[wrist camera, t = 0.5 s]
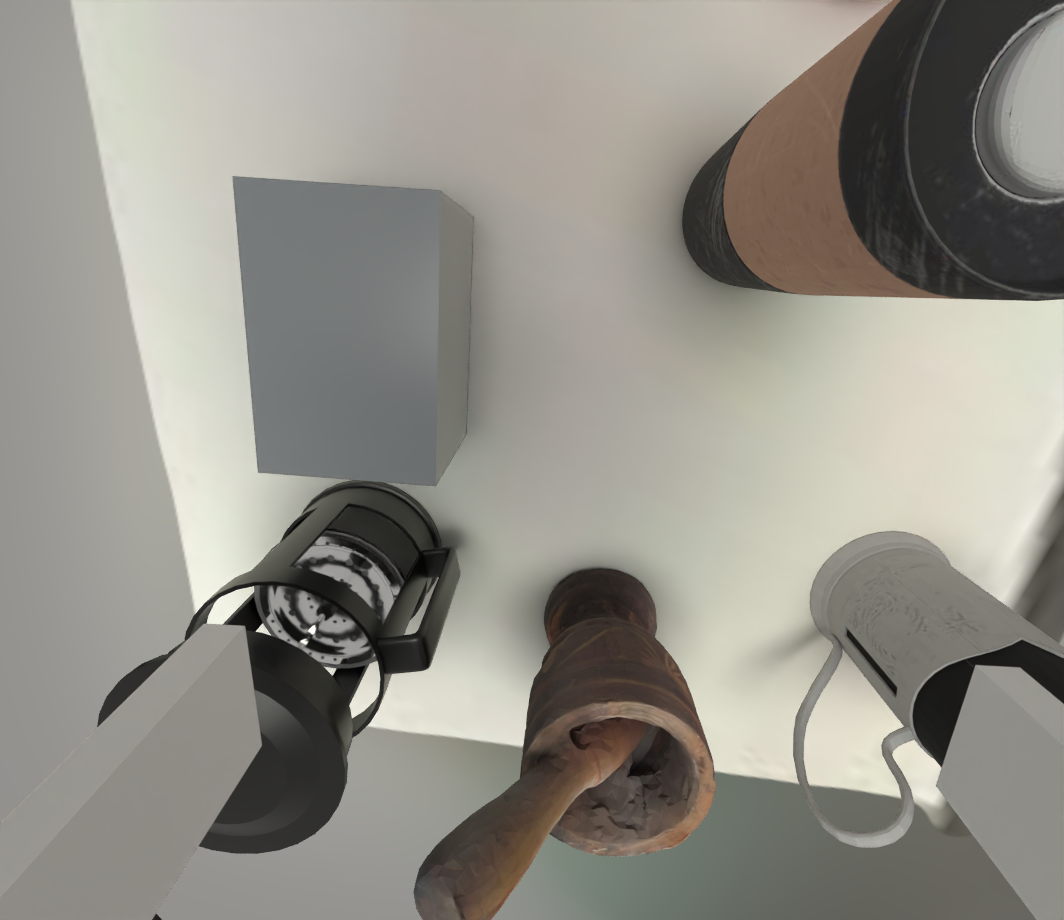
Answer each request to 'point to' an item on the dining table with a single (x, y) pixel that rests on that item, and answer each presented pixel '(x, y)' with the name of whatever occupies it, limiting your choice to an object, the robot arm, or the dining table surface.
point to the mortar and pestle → (584, 754)
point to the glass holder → (914, 649)
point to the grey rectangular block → (355, 327)
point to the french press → (319, 657)
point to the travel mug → (901, 163)
